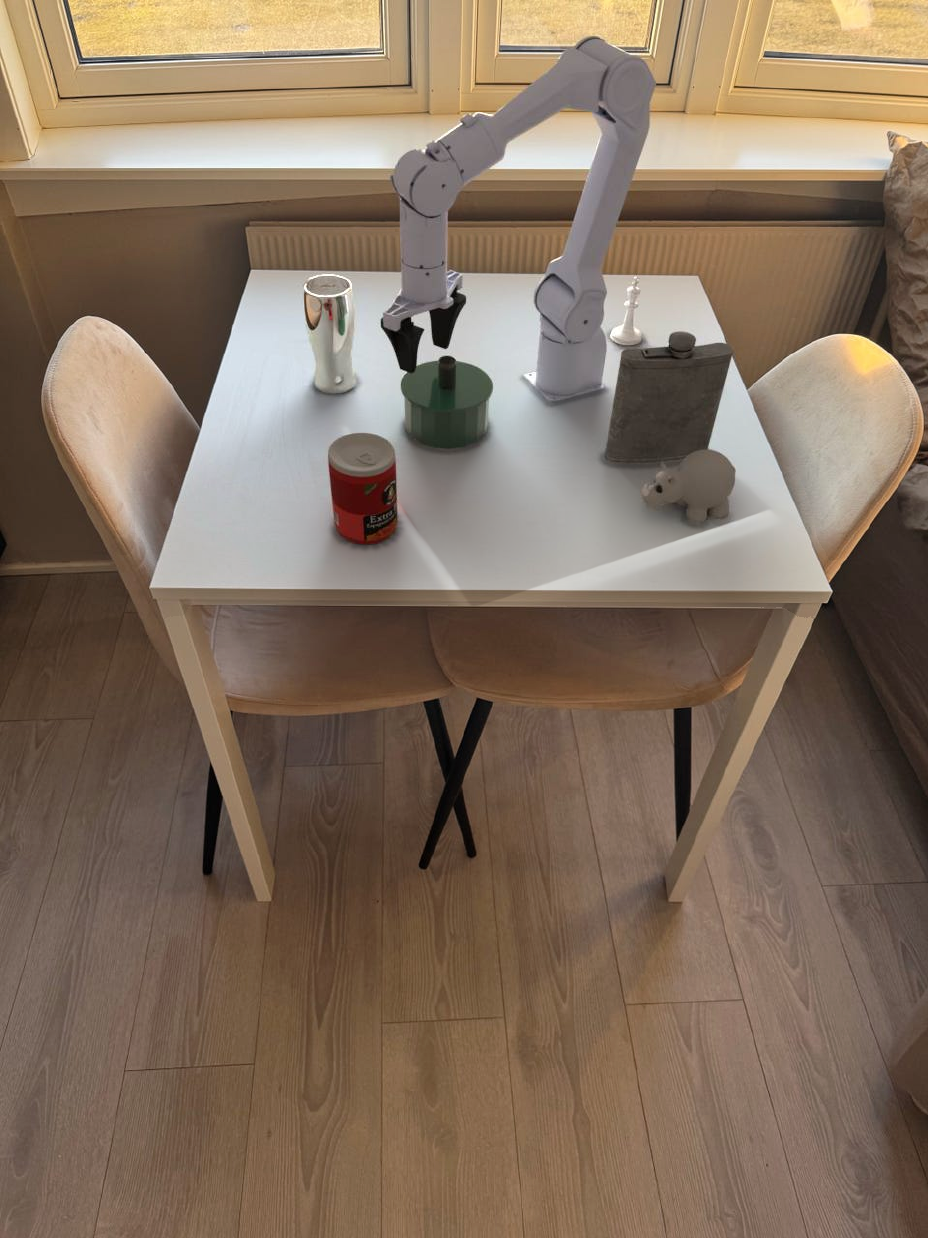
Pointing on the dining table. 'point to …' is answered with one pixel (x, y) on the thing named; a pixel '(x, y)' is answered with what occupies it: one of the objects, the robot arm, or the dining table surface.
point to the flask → (666, 400)
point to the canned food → (363, 487)
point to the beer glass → (330, 331)
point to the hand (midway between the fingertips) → (424, 357)
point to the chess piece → (628, 320)
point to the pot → (446, 426)
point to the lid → (447, 386)
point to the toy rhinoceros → (694, 485)
